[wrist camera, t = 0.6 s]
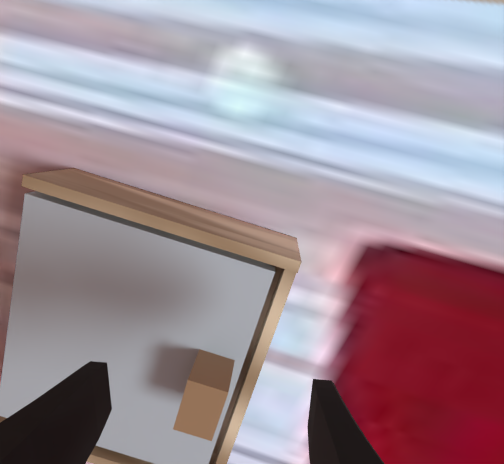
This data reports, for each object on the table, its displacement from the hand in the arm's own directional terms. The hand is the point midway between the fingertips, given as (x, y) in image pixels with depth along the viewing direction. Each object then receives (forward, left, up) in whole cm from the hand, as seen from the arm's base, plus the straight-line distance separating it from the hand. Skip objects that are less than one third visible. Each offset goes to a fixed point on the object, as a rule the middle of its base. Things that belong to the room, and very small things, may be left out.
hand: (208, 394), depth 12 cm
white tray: (-4, +5, -7) cm, 10 cm away
